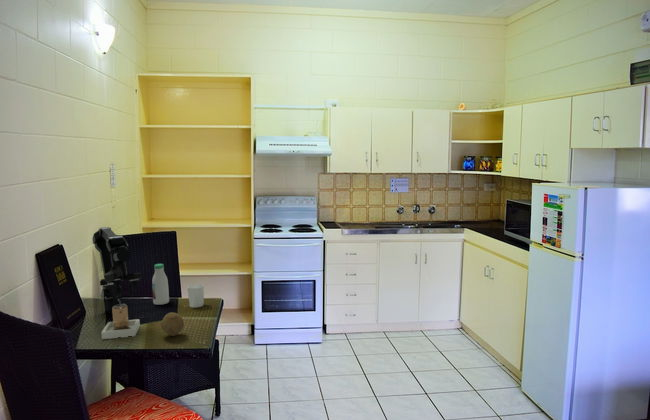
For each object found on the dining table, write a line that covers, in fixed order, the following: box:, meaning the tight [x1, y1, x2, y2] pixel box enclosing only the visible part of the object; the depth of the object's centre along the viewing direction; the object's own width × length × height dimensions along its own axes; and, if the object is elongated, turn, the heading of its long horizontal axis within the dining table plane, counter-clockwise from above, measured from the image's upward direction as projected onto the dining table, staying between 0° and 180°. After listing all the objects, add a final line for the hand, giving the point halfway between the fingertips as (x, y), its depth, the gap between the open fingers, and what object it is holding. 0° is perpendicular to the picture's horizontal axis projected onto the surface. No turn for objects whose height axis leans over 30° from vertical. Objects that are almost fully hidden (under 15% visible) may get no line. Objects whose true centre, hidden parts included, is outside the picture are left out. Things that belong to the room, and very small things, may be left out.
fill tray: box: [101, 319, 141, 340], centre depth 215 cm, size 13×13×3 cm
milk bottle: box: [151, 263, 170, 306], centre depth 255 cm, size 8×8×20 cm
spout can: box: [112, 303, 129, 330], centre depth 213 cm, size 8×6×11 cm
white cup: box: [187, 283, 205, 309], centre depth 250 cm, size 8×8×10 cm
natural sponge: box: [160, 312, 185, 337], centre depth 209 cm, size 9×9×10 cm
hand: (123, 298), depth 225 cm, fingers open, 9 cm apart
